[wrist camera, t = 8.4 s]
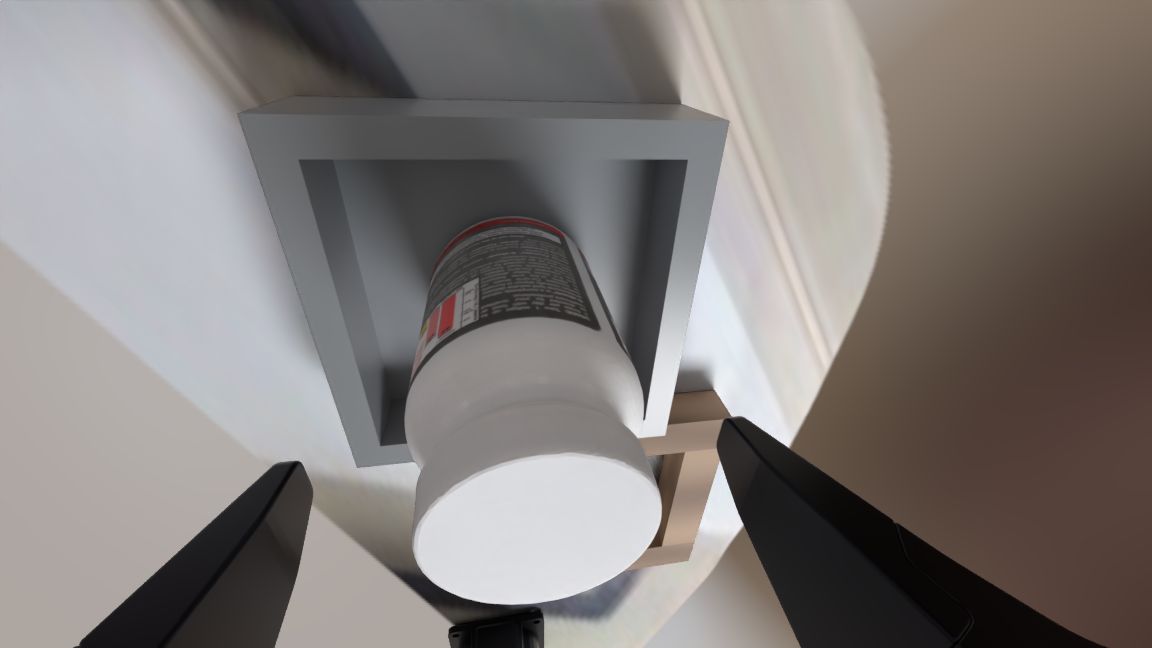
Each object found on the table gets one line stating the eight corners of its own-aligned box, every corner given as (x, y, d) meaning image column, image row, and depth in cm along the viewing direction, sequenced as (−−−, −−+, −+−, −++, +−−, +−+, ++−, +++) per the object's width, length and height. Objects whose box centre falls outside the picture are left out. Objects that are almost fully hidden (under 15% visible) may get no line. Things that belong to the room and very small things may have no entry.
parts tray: (640, 381, 21) (665, 435, 19) (376, 403, 19) (356, 467, 17) (682, 104, 15) (729, 120, 12) (292, 96, 13) (237, 113, 10)
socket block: (676, 530, 29) (688, 560, 27) (489, 557, 27) (489, 591, 25) (714, 390, 23) (732, 418, 21) (471, 412, 21) (470, 444, 19)
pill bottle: (401, 302, 16) (312, 585, 8) (493, 175, 14) (503, 368, 6) (528, 371, 19) (562, 636, 10) (620, 271, 17) (748, 497, 9)
